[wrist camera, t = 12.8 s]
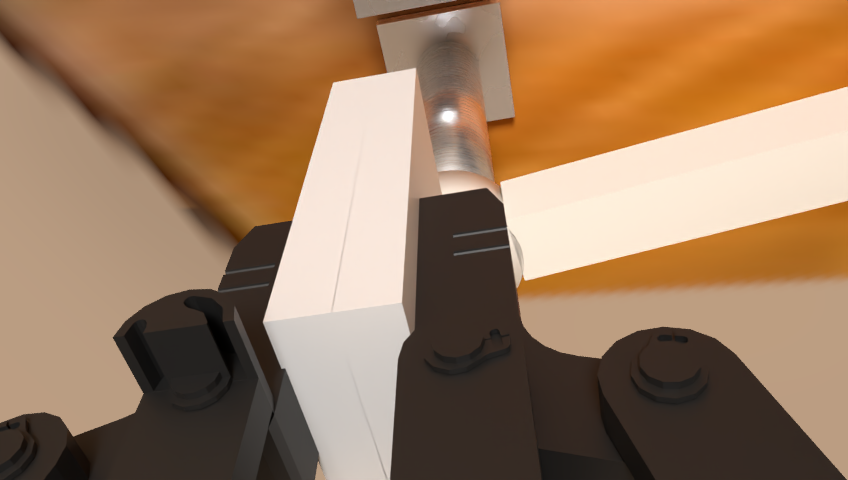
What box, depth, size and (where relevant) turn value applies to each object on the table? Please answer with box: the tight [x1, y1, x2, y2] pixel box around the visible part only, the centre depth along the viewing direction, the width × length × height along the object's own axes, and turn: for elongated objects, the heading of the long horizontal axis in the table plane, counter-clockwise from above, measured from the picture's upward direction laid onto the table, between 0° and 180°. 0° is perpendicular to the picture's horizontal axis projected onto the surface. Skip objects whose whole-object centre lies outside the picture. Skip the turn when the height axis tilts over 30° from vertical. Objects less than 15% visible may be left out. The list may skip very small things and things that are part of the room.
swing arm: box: [438, 87, 848, 288], centre depth 23 cm, size 25×4×3 cm, turn 108°
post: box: [376, 0, 515, 182], centre depth 32 cm, size 6×6×15 cm
